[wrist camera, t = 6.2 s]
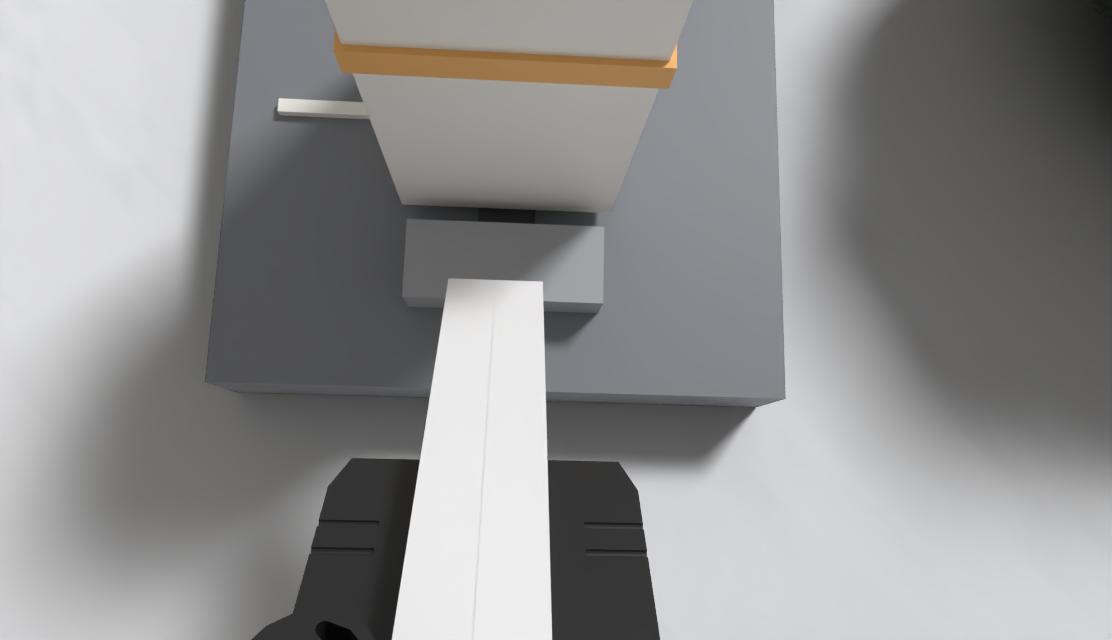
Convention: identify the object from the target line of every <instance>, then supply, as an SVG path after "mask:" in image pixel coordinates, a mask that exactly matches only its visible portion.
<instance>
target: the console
mask: <svg viewBox="0 0 1112 640" xmlns="http://www.w3.org/2000/svg"><path fill="white" fill-rule="evenodd" d="M334 36H335V26H334V23H333V21H332V18H331V15H330V13H329V10H328V7H327V5H326V2H325V0H245V5H244V15H243V24H242V34H241V43H240V53H239V62H238V72H237V81H236V91H235V100H234V110H233V119H232V129H231V138H230V148H229V157H228V167H227V176H226V186H225V195H224V205H223V215H222V224H221V234H220V243H219V253H218V262H217V272H216V281H215V291H214V300H213V310H212V319H211V329H210V338H209V348H208V357H207V367H206V376H205V382H208V383H211V384H214V385H217V386H220V387H223V388H226V389H229V390H232V391H235V392H255V393H289V394H324V395H359V396H393V397H428V398H430V393H431V387H432V380H433V374H434V367H435V361H436V355H437V348H438V342H439V336H440V329H441V323H442V316H443V310H444V304H445V297H446V291H447V285H448V278H453V279H483V280H512V281H542V282H543V307H544V345H545V384H546V401H567V402H602V403H636V404H671V405H706V406H740V407H759V406H762V405H766V404H769V403H773V402H776V401H779V400H783V399H785V367H784V333H783V300H782V267H781V233H780V200H779V167H778V134H777V100H776V67H775V34H774V0H693V3H692V5H691V8H690V11H689V13H688V16H687V18H686V21H685V23H684V26H683V29H682V31H681V34H680V36H679V39H678V41H677V70H676V72H675V75H674V77H673V79H672V82H671V84H670V87H669V89H659V90H658V93H657V95H656V98H655V100H654V103H653V105H652V108H651V111H650V113H649V116H648V118H647V121H646V123H645V126H644V129H643V131H642V134H641V136H640V139H639V141H638V144H637V147H636V149H635V152H634V154H633V157H632V159H631V162H630V165H629V167H628V170H627V172H626V175H625V177H624V180H623V182H622V185H621V188H620V190H619V193H618V195H617V198H616V200H615V203H614V206H613V208H612V211H611V213H596V212H572V211H548V210H523V209H499V208H475V207H450V206H426V205H402V203H401V201H400V198H399V195H398V193H397V190H396V187H395V185H394V182H393V179H392V177H391V174H390V172H389V169H388V166H387V164H386V161H385V158H384V156H383V153H382V150H381V148H380V145H379V142H378V140H377V137H376V134H375V132H374V129H373V127H372V124H371V121H370V119H369V116H368V113H367V111H366V108H365V105H364V103H363V100H362V97H361V95H360V92H359V89H358V87H357V84H356V82H355V79H354V76H353V74H352V73H342V71H341V69H340V66H339V64H338V61H337V59H336V56H335V54H334V51H333V49H334Z"/></svg>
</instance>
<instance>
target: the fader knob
mask: <svg viewBox="0 0 1112 640" xmlns="http://www.w3.org/2000/svg"><path fill="white" fill-rule="evenodd" d="M325 2H326V5H327V7H328V10H329V13H330V15H331V18H332V21H333V23H334V26H335V36H334V49H333V51H334V54H335V56H336V59H337V61H338V64H339V66H340V69H341V71H342V73H352V74H353V76H354V79H355V82H356V84H357V87H358V89H359V92H360V95H361V97H362V100H363V103H364V105H365V108H366V111H367V113H368V116H369V119H370V121H371V124H372V127H373V129H374V132H375V134H376V137H377V140H378V142H379V145H380V148H381V150H382V153H383V156H384V158H385V161H386V164H387V166H388V169H389V172H390V174H391V177H392V179H393V182H394V185H395V187H396V190H397V193H398V195H399V198H400V201H401V203H402V205H426V206H450V207H475V208H499V209H523V210H548V211H572V212H596V213H611V211H612V208H613V206H614V203H615V200H616V198H617V195H618V193H619V190H620V188H621V185H622V182H623V180H624V177H625V175H626V172H627V170H628V167H629V165H630V162H631V159H632V157H633V154H634V152H635V149H636V147H637V144H638V141H639V139H640V136H641V134H642V131H643V129H644V126H645V123H646V121H647V118H648V116H649V113H650V111H651V108H652V105H653V103H654V100H655V98H656V95H657V93H658V90H659V89H669V87H670V84H671V82H672V79H673V77H674V75H675V72H676V70H677V41H678V39H679V36H680V34H681V31H682V29H683V26H684V23H685V21H686V18H687V16H688V13H689V11H690V8H691V5H692V3H693V0H325Z"/></svg>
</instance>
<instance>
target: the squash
mask: <svg viewBox="0 0 1112 640" xmlns="http://www.w3.org/2000/svg"><path fill="white" fill-rule="evenodd" d="M1088 2H1089V3H1090V4H1091V5H1092V6H1093V7H1094V8H1095V10H1096V11H1099V12H1101V13H1104V14H1106V15H1109V16H1111V17H1112V0H1088Z"/></svg>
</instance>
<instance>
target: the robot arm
mask: <svg viewBox="0 0 1112 640" xmlns="http://www.w3.org/2000/svg"><path fill="white" fill-rule="evenodd" d="M252 640H660V636H659V629H658V622H657V616H656V609H655V602H654V595H653V589H652V582H651V575H650V569H649V562H648V557H647V549H646V542H645V535H644V530H643V522H642V515H641V508H640V502H639V495H638V490H637V489H636V487H635V486H634V484H633V483H632V481H631V480H630V478H629V477H628V475H627V474H626V473H625V471H624V470H623V468H622V467H621V465H620V464H619V462H599V461H555V460H547V422H546V384H545V345H544V307H543V282H542V281H512V280H483V279H453V278H448V285H447V291H446V297H445V304H444V310H443V316H442V323H441V329H440V336H439V342H438V348H437V355H436V361H435V367H434V374H433V380H432V387H431V393H430V399H429V406H428V412H427V419H426V425H425V431H424V438H423V444H422V450H421V457H420V460H408V459H363V458H352V459H351V460H350V461H349V463H348V464H347V465H346V466H345V467H344V468H343V470H342V471H341V472H340V473H339V474H338V476H337V477H336V478H335V479H334V480H333V481H332V483H331V484H330V485H329V486H328V489H327V493H326V496H325V500H324V503H323V507H322V511H321V514H320V518H319V526H317V529H316V532H315V536H314V539H313V543H312V547H311V554H309V557H308V561H307V565H306V568H305V572H304V575H303V579H302V583H301V586H300V590H299V593H298V597H297V601H296V604H295V608H294V611H293V614H291V615H289V616H287V617H285V618H282V619H280V620H278V621H276V622H274V623H272V624H270V625H268V626H266V627H265V628H264V629H263V630H261V631H260V632H259V633H258V634H257V635H256V636H255V637H254V638H253V639H252Z"/></svg>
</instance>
